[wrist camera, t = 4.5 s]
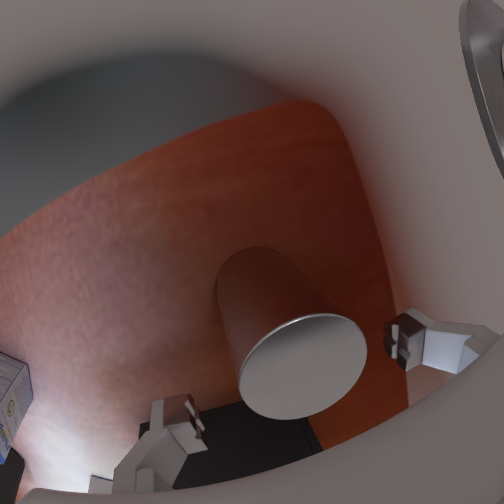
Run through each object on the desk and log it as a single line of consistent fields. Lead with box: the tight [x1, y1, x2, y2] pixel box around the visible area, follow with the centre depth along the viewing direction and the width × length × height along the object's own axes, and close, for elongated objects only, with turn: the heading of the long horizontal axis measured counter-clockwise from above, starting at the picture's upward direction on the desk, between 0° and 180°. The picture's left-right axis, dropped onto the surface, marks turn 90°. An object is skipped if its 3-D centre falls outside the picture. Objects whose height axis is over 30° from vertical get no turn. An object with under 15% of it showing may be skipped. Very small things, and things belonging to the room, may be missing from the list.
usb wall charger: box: [88, 476, 113, 494], centre depth 20 cm, size 4×7×4 cm, turn 71°
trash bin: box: [139, 401, 323, 490], centre depth 18 cm, size 13×13×10 cm
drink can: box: [216, 247, 367, 420], centre depth 14 cm, size 5×5×9 cm
